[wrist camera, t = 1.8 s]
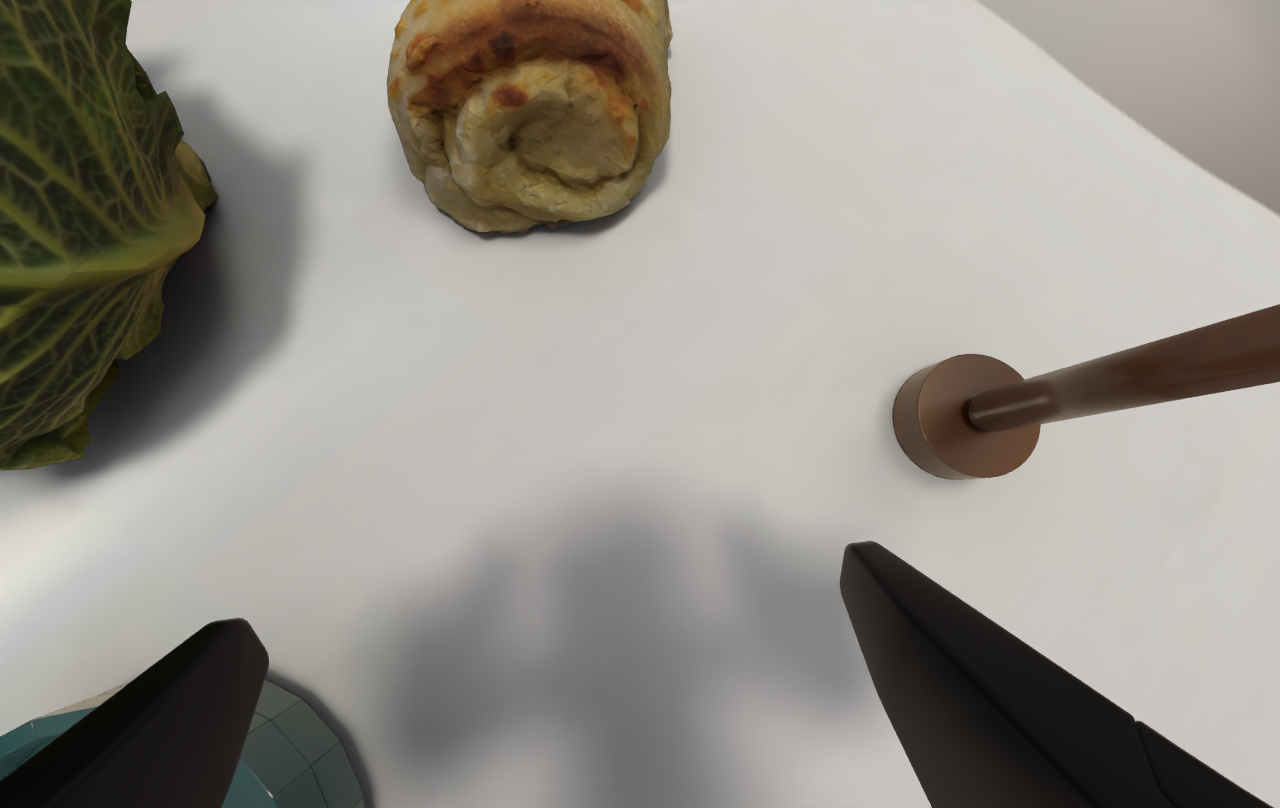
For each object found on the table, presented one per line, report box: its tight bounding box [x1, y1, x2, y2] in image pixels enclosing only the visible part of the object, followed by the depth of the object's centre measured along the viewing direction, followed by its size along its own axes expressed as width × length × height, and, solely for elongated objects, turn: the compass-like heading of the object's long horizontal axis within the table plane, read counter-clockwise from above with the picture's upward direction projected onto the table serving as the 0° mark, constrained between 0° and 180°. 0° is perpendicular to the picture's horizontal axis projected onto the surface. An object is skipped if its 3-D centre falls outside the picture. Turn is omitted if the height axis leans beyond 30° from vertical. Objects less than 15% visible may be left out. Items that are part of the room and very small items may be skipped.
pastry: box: [387, 0, 673, 234], centre depth 21 cm, size 14×12×8 cm
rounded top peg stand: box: [893, 304, 1280, 479], centre depth 17 cm, size 5×5×14 cm
